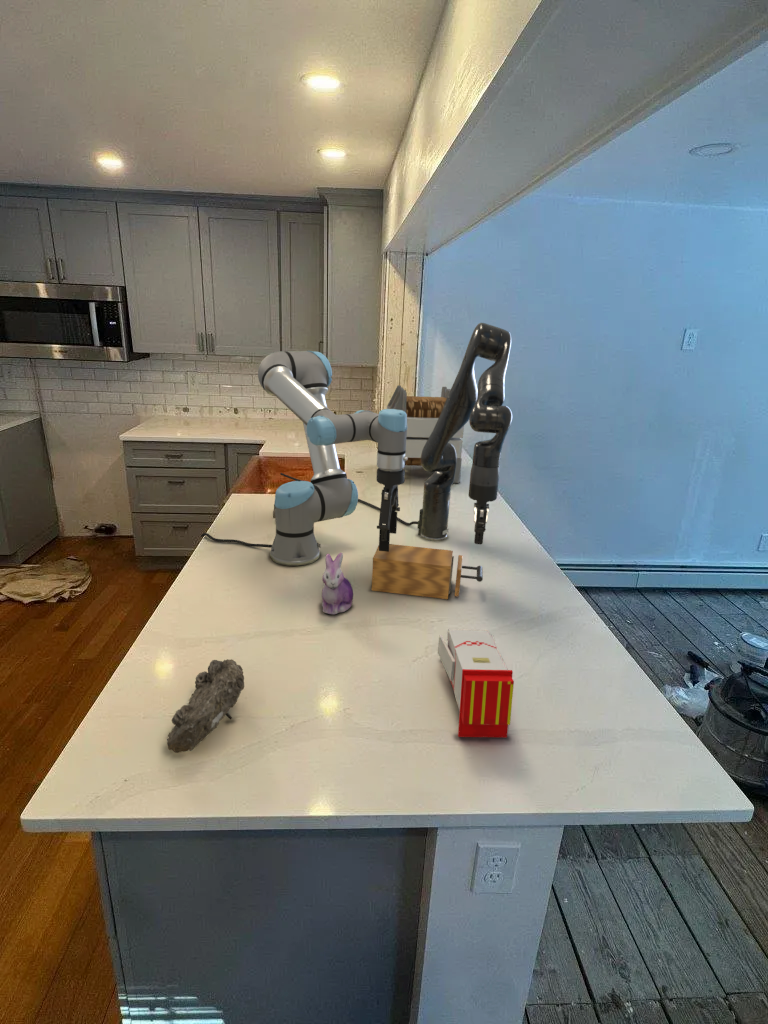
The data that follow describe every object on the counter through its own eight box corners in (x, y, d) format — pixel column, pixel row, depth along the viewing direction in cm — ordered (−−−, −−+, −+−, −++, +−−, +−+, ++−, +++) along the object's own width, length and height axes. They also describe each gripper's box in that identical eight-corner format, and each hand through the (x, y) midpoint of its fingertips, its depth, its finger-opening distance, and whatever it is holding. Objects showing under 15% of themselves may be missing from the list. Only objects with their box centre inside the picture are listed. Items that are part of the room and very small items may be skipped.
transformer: (382, 463, 289) (386, 382, 275) (445, 464, 293) (451, 384, 279) (390, 482, 257) (394, 392, 243) (460, 483, 261) (468, 394, 247)
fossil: (192, 660, 117) (244, 628, 112) (224, 691, 120) (276, 661, 115) (142, 746, 98) (202, 712, 93) (182, 779, 101) (242, 748, 96)
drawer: (480, 583, 164) (483, 557, 161) (480, 599, 155) (483, 572, 152) (391, 573, 168) (392, 547, 165) (386, 588, 159) (387, 561, 156)
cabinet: (450, 581, 166) (452, 550, 163) (447, 599, 156) (450, 566, 153) (378, 573, 169) (379, 542, 166) (371, 590, 159) (372, 557, 156)
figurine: (327, 619, 143) (328, 565, 138) (313, 601, 152) (313, 549, 147) (361, 611, 147) (363, 559, 142) (345, 594, 156) (346, 544, 151)
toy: (488, 613, 130) (523, 677, 101) (484, 667, 133) (517, 744, 104) (435, 612, 130) (455, 676, 101) (432, 666, 133) (451, 743, 103)
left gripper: (398, 481, 140) (394, 560, 147) (410, 458, 163) (406, 527, 170) (368, 479, 141) (366, 557, 148) (384, 456, 164) (382, 525, 171)
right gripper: (499, 490, 142) (492, 549, 148) (497, 475, 156) (491, 529, 161) (469, 487, 143) (463, 546, 149) (470, 472, 157) (464, 527, 162)
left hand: (387, 541), depth 159 cm, fingers open, 13 cm apart
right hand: (478, 537), depth 155 cm, fingers open, 8 cm apart
